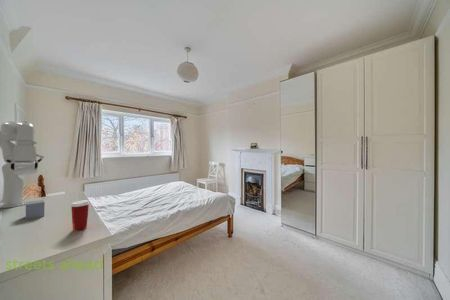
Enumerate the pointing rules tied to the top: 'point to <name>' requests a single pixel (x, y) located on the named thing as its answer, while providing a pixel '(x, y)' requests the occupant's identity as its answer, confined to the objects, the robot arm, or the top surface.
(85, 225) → the paper cup
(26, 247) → the top surface
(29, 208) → the pale blue-grey cube
